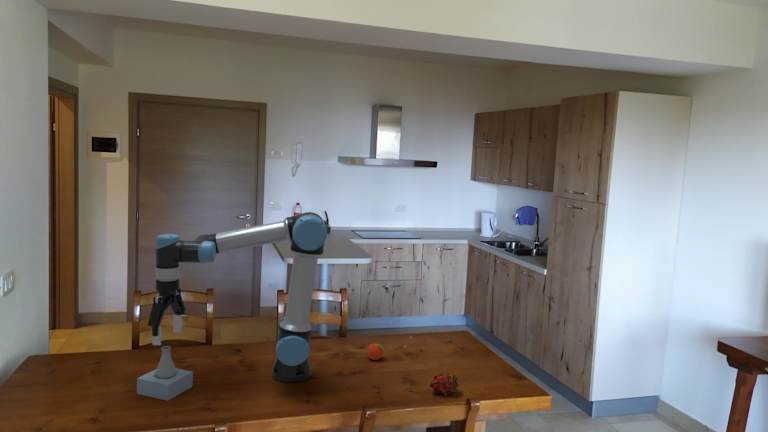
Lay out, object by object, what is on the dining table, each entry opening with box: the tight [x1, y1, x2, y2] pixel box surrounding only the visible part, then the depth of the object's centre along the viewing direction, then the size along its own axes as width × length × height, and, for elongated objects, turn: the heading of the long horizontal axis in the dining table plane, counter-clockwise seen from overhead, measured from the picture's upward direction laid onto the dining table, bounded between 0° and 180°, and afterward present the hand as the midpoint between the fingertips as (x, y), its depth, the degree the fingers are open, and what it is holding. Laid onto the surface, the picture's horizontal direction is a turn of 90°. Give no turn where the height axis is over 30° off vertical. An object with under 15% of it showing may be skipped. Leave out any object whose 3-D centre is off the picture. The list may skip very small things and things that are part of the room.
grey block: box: [136, 367, 194, 402], centre depth 194 cm, size 13×13×6 cm
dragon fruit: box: [429, 371, 459, 396], centre depth 205 cm, size 8×8×12 cm
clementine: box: [366, 343, 385, 361], centre depth 236 cm, size 8×7×7 cm
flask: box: [154, 345, 177, 378], centre depth 194 cm, size 7×7×10 cm
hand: (167, 338), depth 193 cm, fingers open, 13 cm apart
